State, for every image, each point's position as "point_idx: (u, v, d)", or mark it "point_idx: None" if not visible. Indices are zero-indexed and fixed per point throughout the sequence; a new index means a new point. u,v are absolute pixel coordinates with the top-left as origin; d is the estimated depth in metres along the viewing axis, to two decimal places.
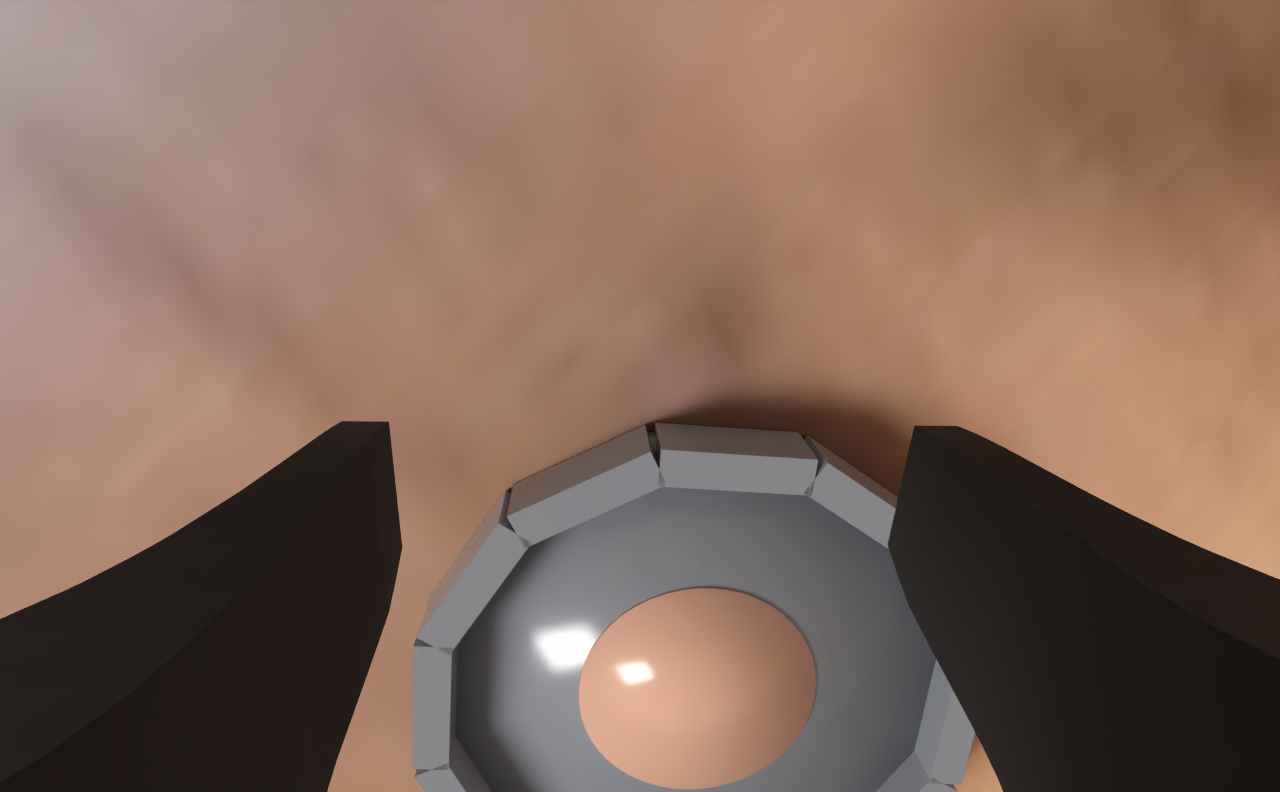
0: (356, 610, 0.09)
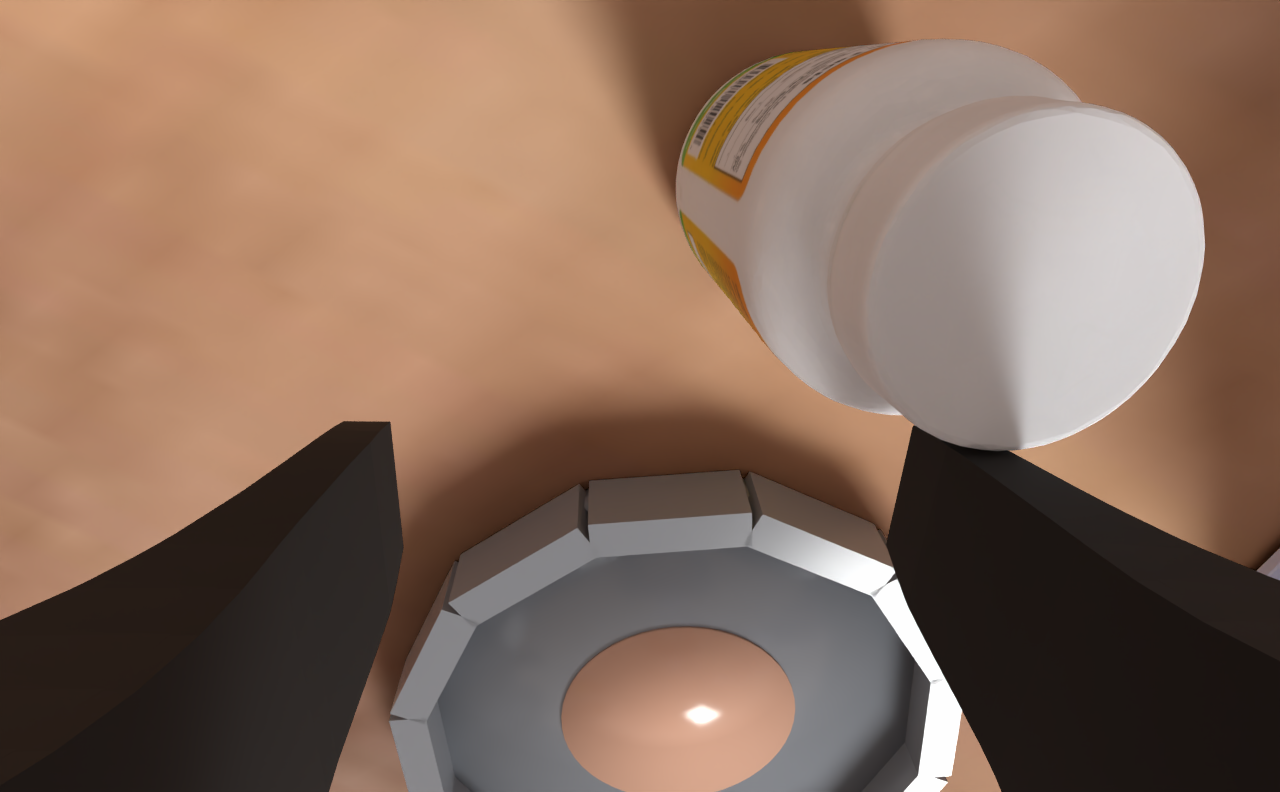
0: (357, 610, 0.09)
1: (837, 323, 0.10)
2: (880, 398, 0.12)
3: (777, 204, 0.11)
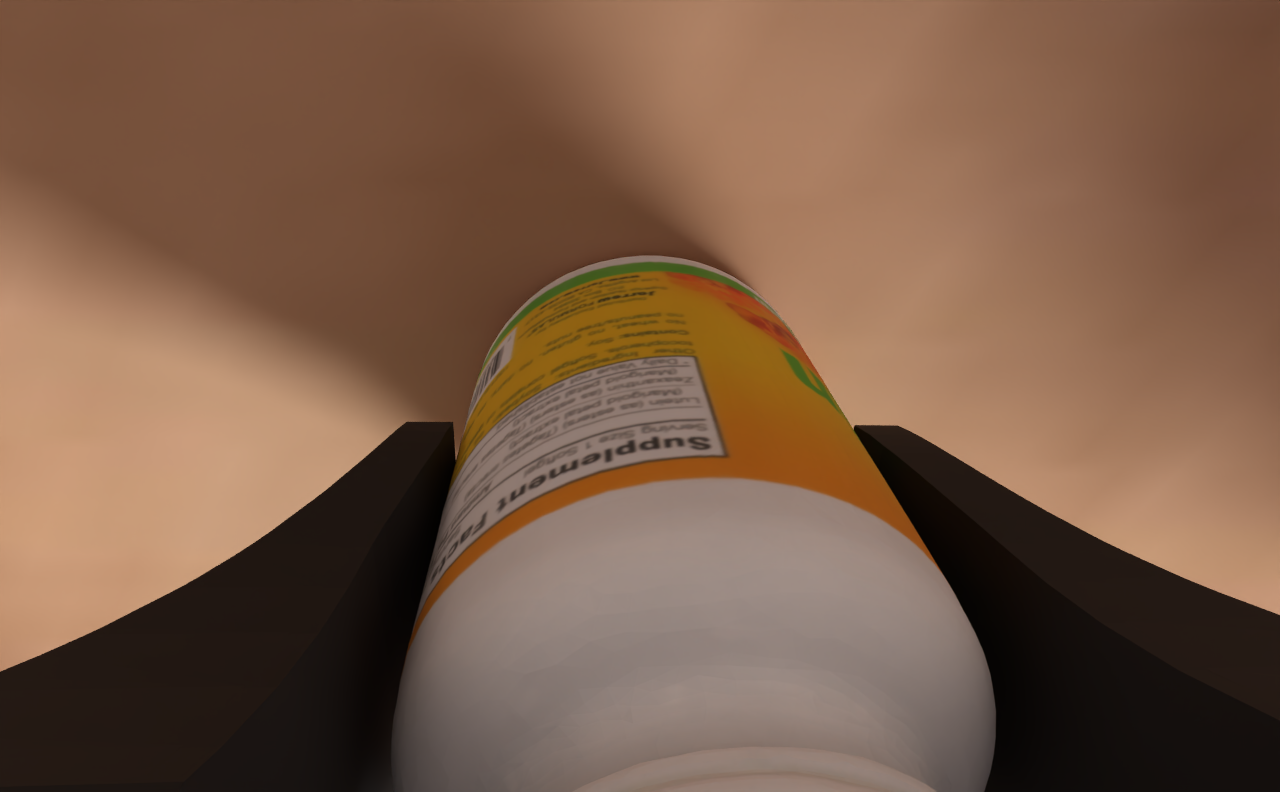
0: None
1: None
2: None
3: None
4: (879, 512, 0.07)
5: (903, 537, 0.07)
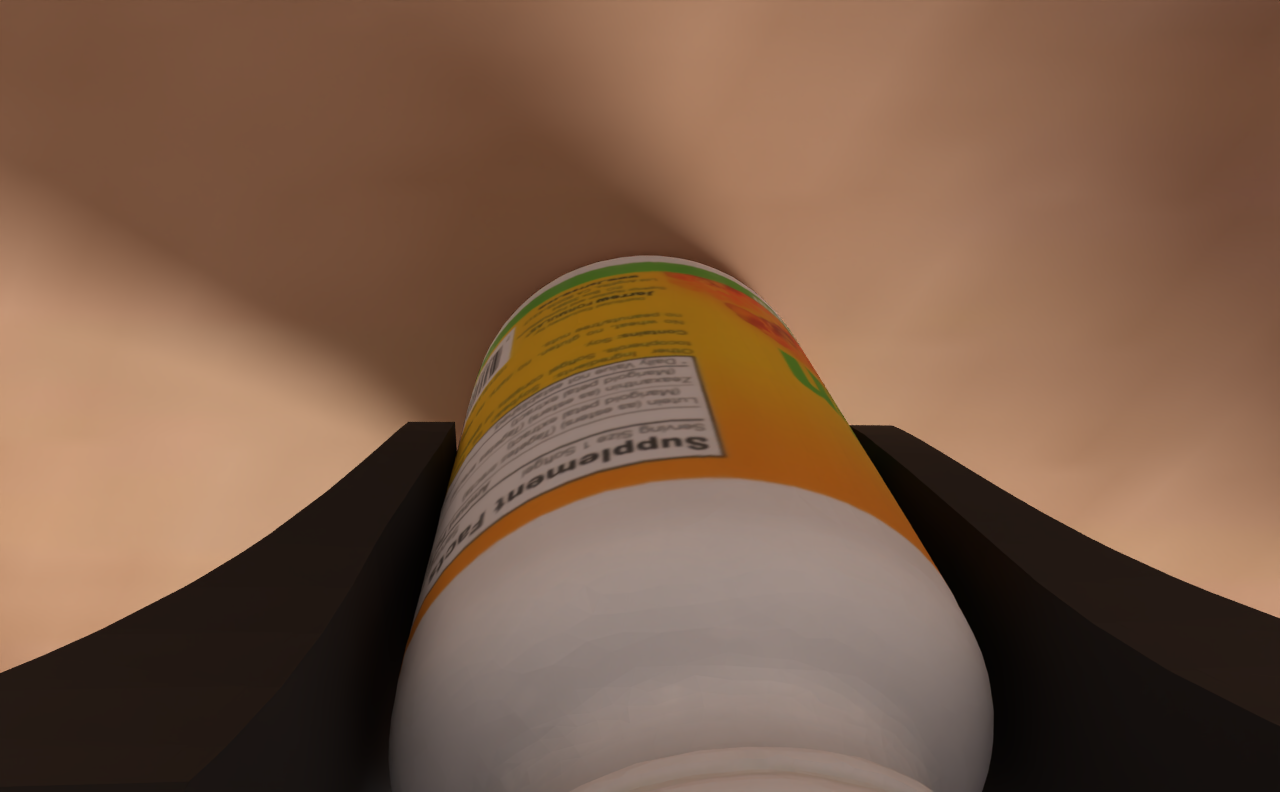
0: None
1: None
2: None
3: None
4: (876, 511, 0.07)
5: (901, 538, 0.07)
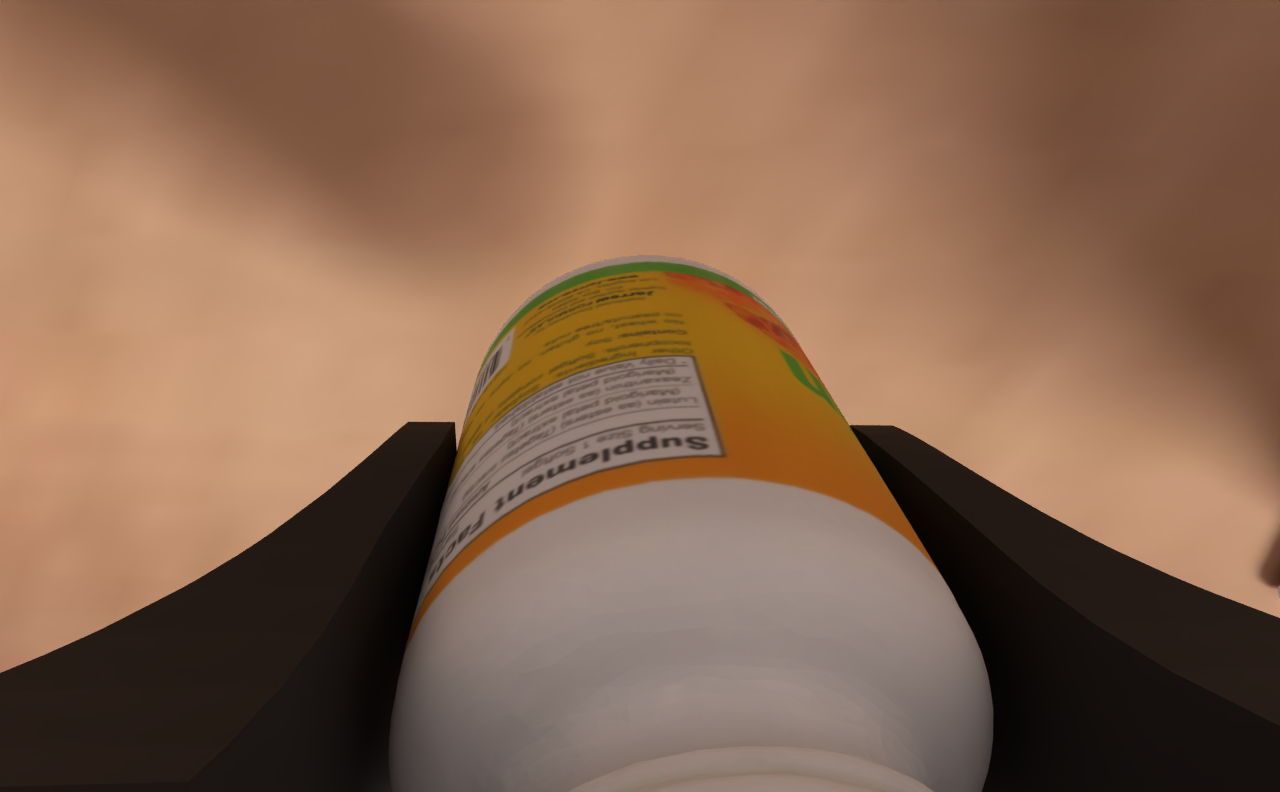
0: None
1: None
2: None
3: None
4: (876, 511, 0.07)
5: (899, 536, 0.07)
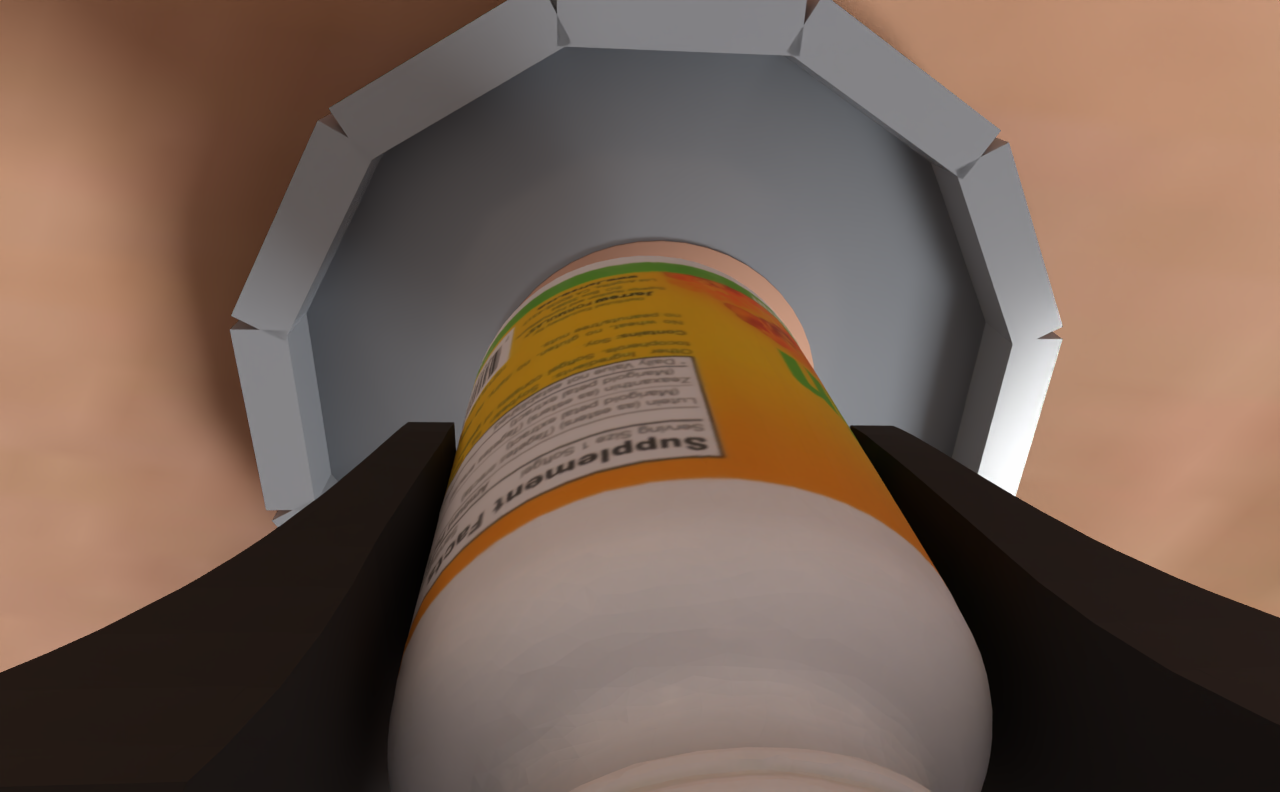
0: None
1: None
2: None
3: None
4: (875, 513, 0.07)
5: (899, 537, 0.07)
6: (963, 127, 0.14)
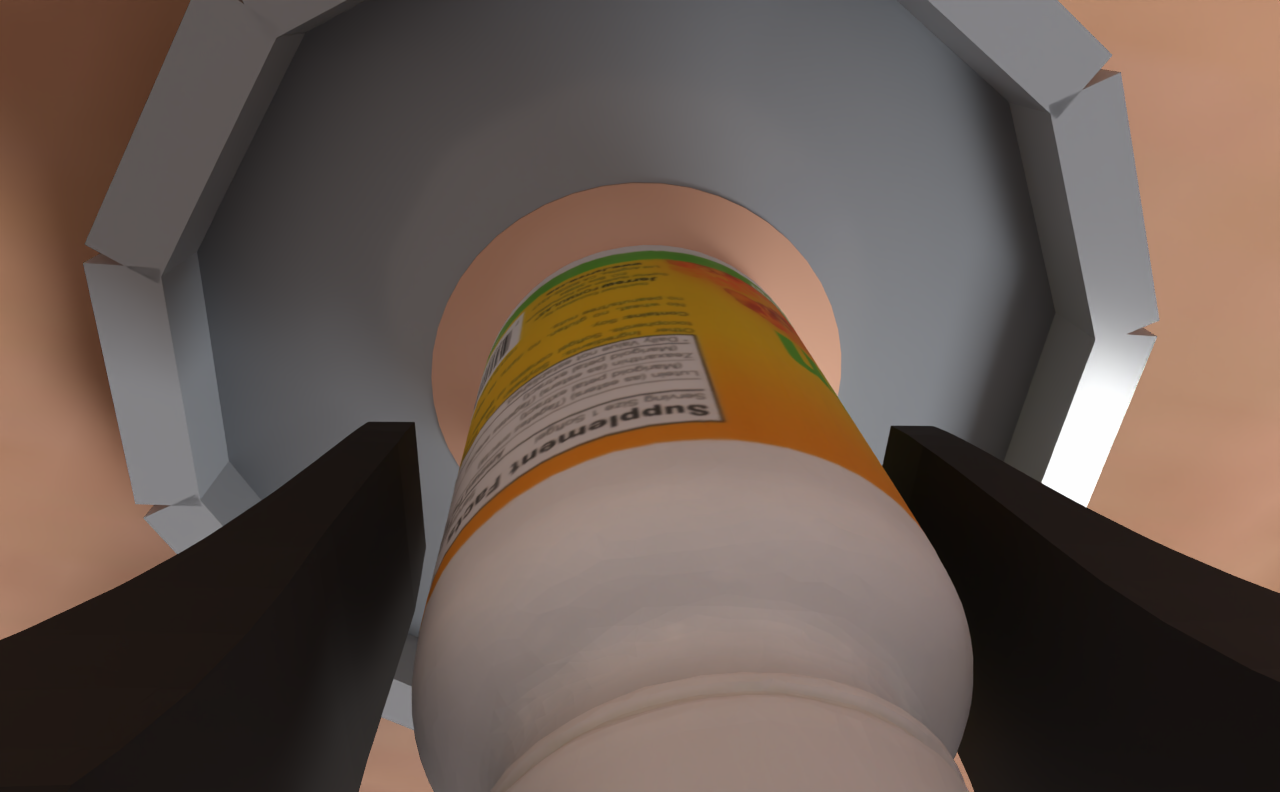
0: (385, 610, 0.09)
1: None
2: None
3: (434, 786, 0.07)
4: (864, 472, 0.07)
5: (886, 497, 0.07)
6: (1065, 47, 0.11)
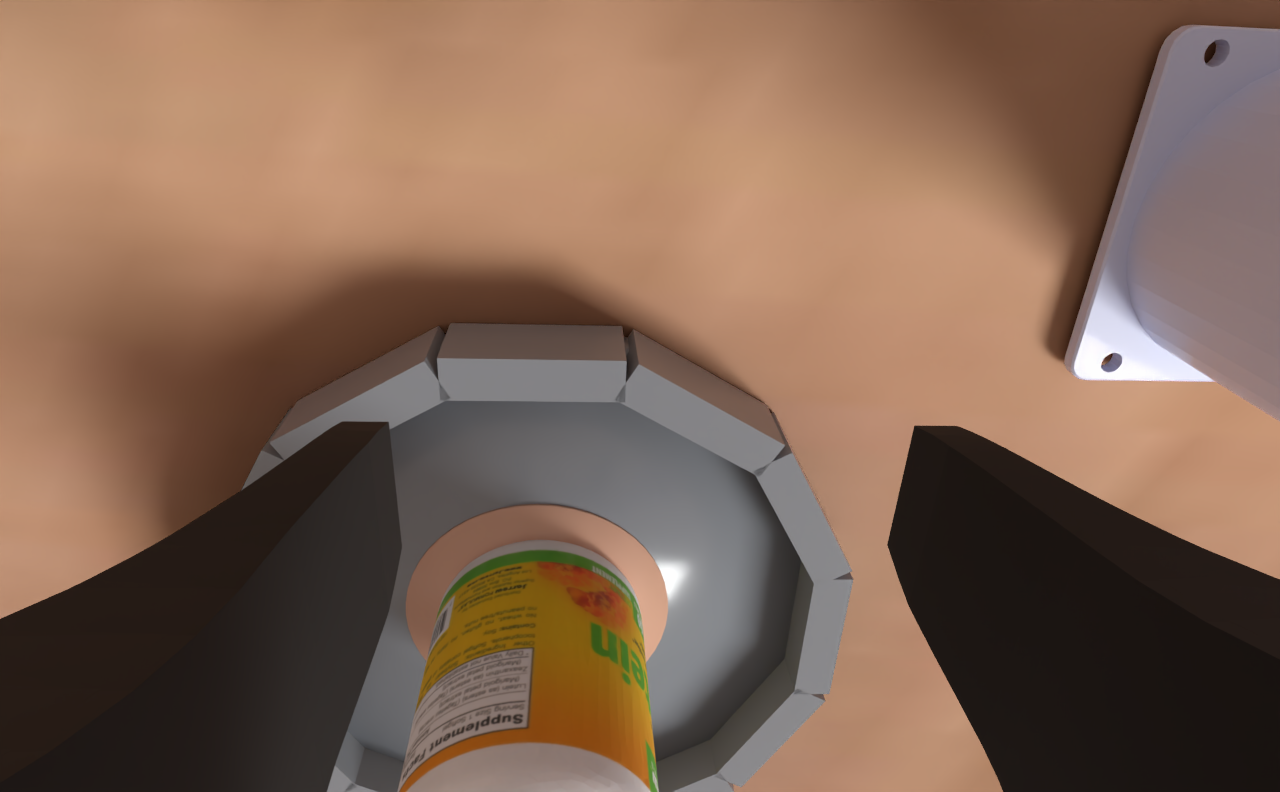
0: (356, 610, 0.09)
1: None
2: None
3: None
4: (598, 748, 0.15)
5: (606, 760, 0.15)
6: (755, 444, 0.18)
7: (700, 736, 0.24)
